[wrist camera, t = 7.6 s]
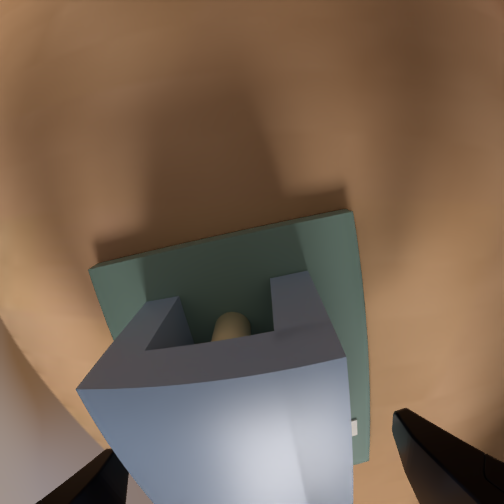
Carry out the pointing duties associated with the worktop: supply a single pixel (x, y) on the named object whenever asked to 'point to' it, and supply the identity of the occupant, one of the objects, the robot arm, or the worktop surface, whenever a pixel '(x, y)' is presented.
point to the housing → (229, 406)
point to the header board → (253, 290)
